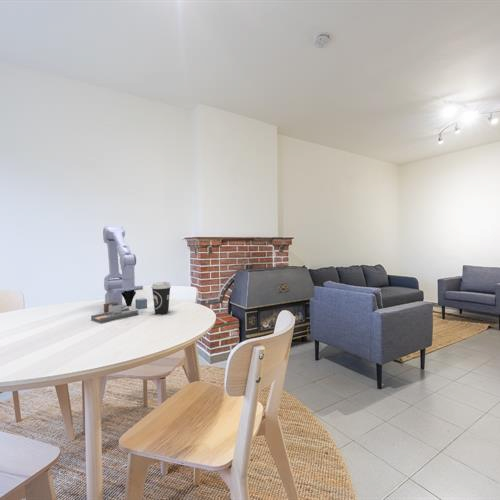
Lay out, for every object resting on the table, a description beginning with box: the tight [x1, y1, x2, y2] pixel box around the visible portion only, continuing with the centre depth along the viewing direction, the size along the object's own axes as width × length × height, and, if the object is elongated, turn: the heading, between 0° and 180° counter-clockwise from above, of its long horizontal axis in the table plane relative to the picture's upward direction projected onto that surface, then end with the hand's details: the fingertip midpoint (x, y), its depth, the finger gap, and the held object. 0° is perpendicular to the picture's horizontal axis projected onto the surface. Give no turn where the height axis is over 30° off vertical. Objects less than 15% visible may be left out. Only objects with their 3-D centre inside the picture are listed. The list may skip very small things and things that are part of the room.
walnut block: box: [103, 302, 115, 313], centre depth 144 cm, size 4×4×5 cm
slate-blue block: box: [134, 297, 148, 310], centre depth 154 cm, size 4×4×5 cm
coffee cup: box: [150, 281, 172, 315], centre depth 143 cm, size 10×10×15 cm
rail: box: [90, 307, 139, 324], centre depth 135 cm, size 9×18×2 cm, turn 143°
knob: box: [109, 303, 122, 316], centre depth 135 cm, size 4×4×5 cm
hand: (128, 306), depth 141 cm, fingers closed
